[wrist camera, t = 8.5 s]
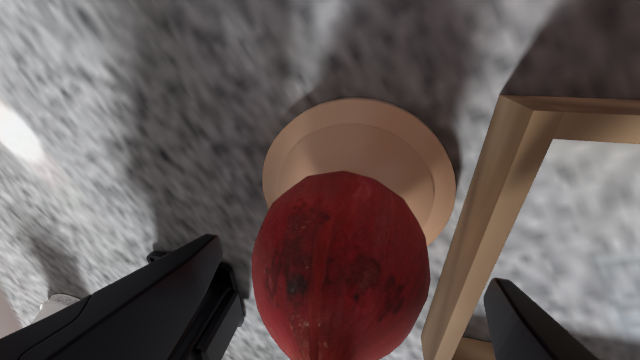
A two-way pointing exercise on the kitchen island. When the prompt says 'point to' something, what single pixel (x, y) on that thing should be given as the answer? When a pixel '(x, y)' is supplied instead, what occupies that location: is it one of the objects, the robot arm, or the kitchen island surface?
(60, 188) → the kitchen island surface
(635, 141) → the wooden double frame
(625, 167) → the kitchen island surface
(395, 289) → the onion
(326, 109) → the saucer
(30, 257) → the kitchen island surface
